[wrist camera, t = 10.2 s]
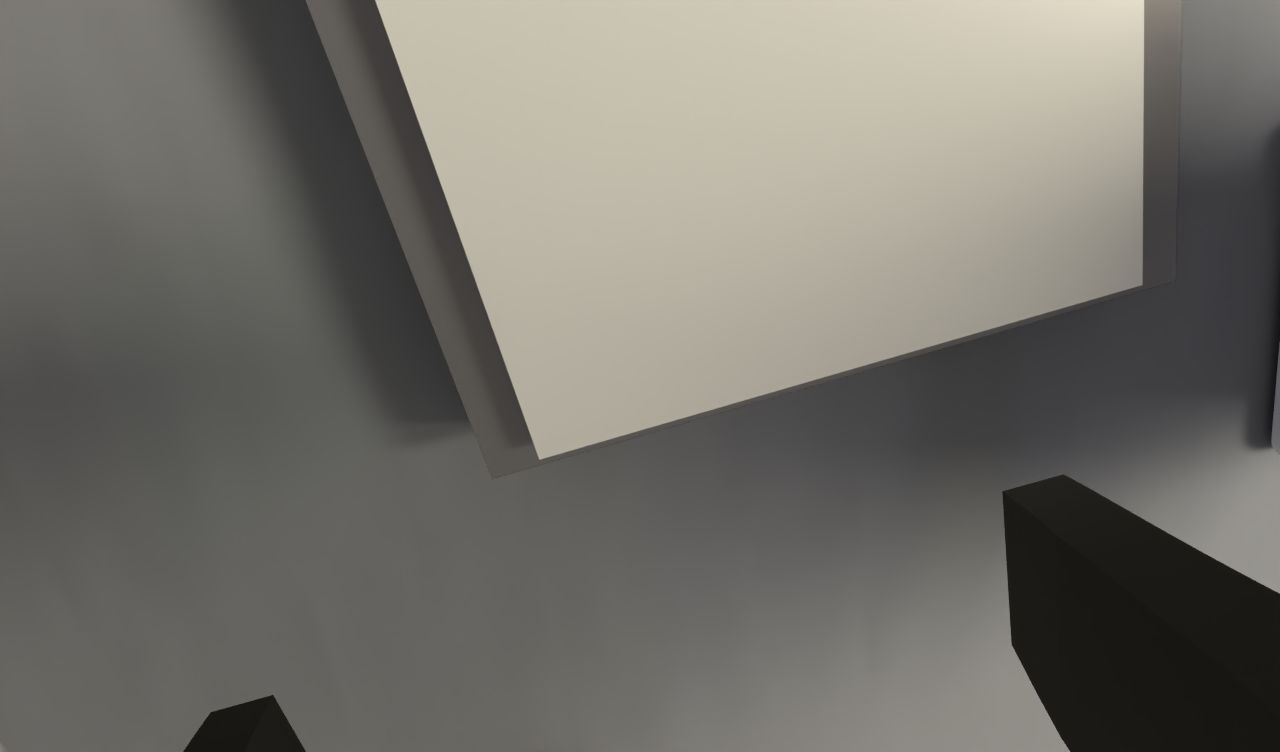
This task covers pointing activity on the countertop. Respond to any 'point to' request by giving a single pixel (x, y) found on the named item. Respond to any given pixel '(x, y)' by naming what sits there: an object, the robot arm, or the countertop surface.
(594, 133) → the kitchen scale
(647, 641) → the countertop surface
